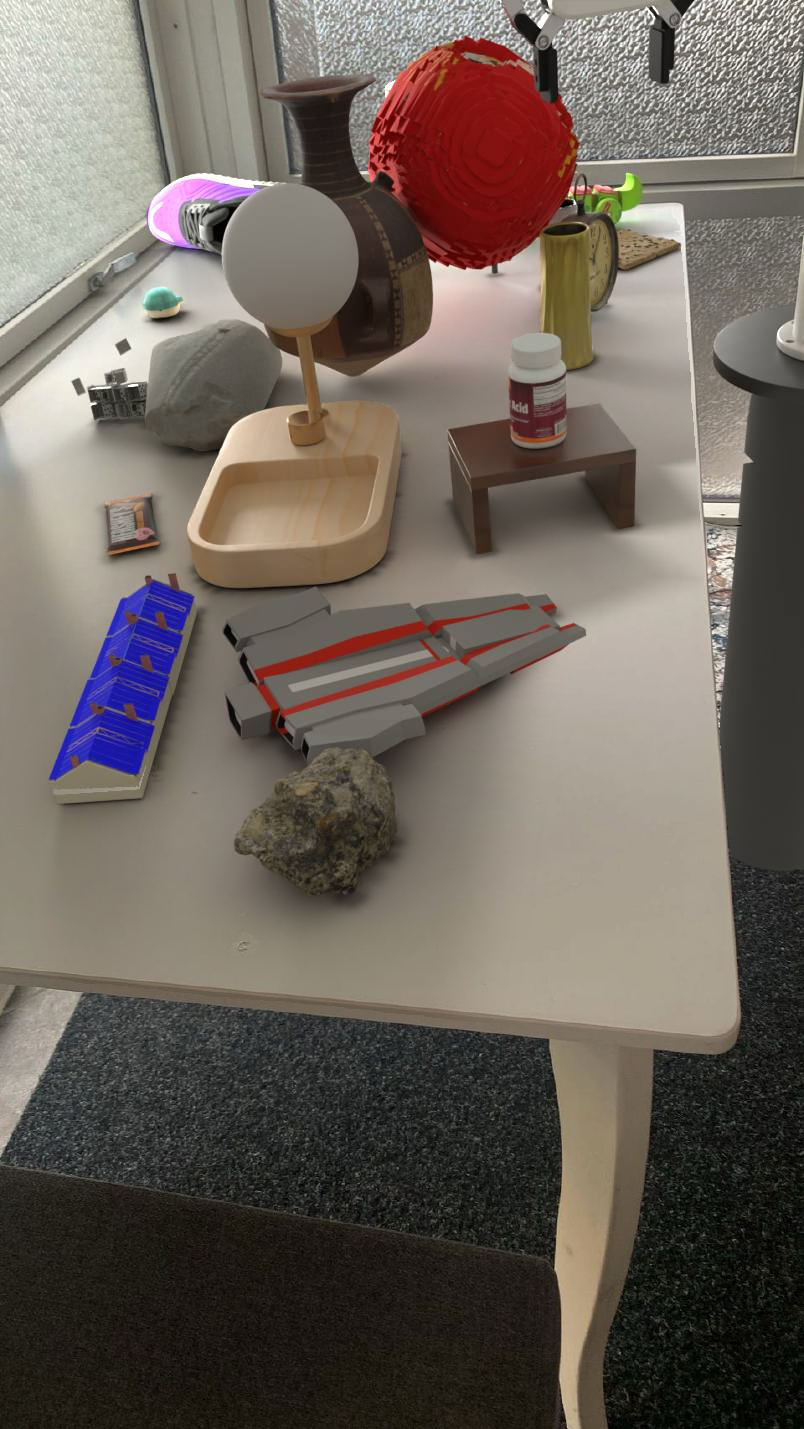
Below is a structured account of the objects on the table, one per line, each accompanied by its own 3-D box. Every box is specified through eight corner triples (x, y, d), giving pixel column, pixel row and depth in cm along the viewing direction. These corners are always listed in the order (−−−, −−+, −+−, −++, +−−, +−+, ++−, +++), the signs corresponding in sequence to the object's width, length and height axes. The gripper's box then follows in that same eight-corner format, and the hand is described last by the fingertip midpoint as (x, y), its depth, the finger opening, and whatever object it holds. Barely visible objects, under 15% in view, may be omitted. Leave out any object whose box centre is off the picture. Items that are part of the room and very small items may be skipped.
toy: (580, 129, 141) (650, 103, 114) (482, 300, 148) (526, 313, 120) (424, 18, 135) (459, -38, 107) (330, 202, 142) (340, 193, 114)
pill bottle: (502, 434, 97) (497, 339, 92) (552, 421, 98) (550, 326, 92) (524, 455, 93) (520, 357, 88) (576, 442, 94) (575, 344, 89)
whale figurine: (141, 323, 153) (134, 295, 150) (147, 306, 158) (140, 278, 156) (183, 318, 153) (176, 290, 150) (188, 300, 158) (182, 273, 156)
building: (145, 800, 75) (130, 755, 72) (57, 805, 75) (39, 762, 73) (199, 611, 93) (188, 570, 90) (127, 617, 93) (114, 576, 91)
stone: (155, 302, 132) (283, 307, 133) (159, 355, 136) (283, 359, 137) (126, 406, 112) (276, 411, 114) (132, 464, 117) (277, 468, 118)
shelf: (599, 476, 104) (599, 402, 100) (634, 526, 96) (636, 449, 92) (453, 501, 103) (446, 428, 99) (476, 554, 95) (470, 477, 91)
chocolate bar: (161, 548, 102) (159, 540, 102) (107, 559, 101) (105, 551, 101) (153, 495, 111) (151, 488, 110) (104, 505, 110) (102, 498, 109)
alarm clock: (581, 334, 132) (580, 188, 122) (540, 329, 135) (536, 185, 125) (621, 303, 139) (623, 162, 129) (581, 299, 141) (581, 160, 131)
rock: (232, 913, 67) (274, 785, 74) (377, 928, 65) (407, 796, 72) (212, 858, 63) (259, 727, 69) (366, 872, 61) (399, 738, 68)
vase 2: (569, 346, 130) (567, 217, 121) (605, 359, 126) (606, 226, 117) (528, 361, 128) (523, 231, 119) (563, 375, 123) (561, 241, 115)
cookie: (625, 271, 149) (626, 263, 148) (558, 255, 156) (558, 248, 155) (683, 247, 154) (683, 239, 154) (615, 232, 162) (615, 225, 161)
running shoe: (151, 177, 179) (101, 203, 169) (313, 163, 168) (271, 189, 158) (169, 246, 185) (122, 275, 175) (327, 237, 174) (287, 267, 164)
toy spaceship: (504, 539, 91) (500, 592, 94) (188, 610, 82) (194, 666, 85) (643, 659, 77) (633, 717, 80) (281, 761, 68) (285, 822, 71)
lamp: (382, 582, 93) (340, 273, 77) (182, 593, 95) (101, 294, 80) (408, 416, 119) (380, 159, 103) (250, 428, 121) (199, 177, 105)
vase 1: (435, 407, 120) (407, 94, 101) (259, 420, 122) (200, 116, 104) (443, 331, 138) (420, 52, 119) (289, 343, 140) (243, 72, 121)
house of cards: (61, 343, 124) (101, 333, 130) (81, 422, 128) (119, 408, 134) (129, 337, 121) (166, 326, 127) (147, 418, 124) (182, 404, 131)
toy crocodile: (516, 240, 163) (514, 195, 159) (506, 230, 168) (505, 187, 165) (648, 222, 164) (649, 177, 160) (634, 213, 169) (635, 169, 166)
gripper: (504, -146, 81) (517, 116, 91) (732, -182, 82) (719, 81, 93) (479, -145, 87) (494, 101, 97) (693, -179, 88) (685, 68, 98)
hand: (604, 91), depth 95 cm, fingers open, 9 cm apart
